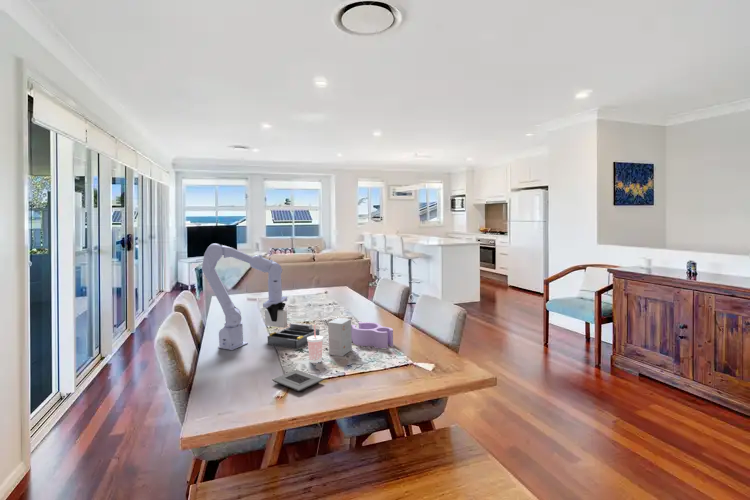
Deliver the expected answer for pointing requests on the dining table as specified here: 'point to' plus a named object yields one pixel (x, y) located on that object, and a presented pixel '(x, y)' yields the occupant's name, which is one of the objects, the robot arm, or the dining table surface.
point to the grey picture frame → (297, 380)
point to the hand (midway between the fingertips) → (276, 320)
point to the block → (280, 319)
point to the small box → (339, 336)
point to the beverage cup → (315, 347)
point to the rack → (292, 336)
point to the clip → (372, 335)
